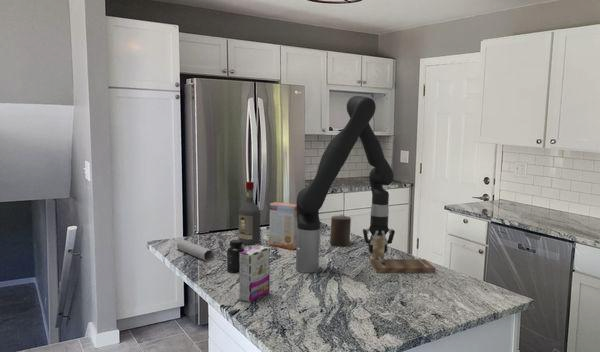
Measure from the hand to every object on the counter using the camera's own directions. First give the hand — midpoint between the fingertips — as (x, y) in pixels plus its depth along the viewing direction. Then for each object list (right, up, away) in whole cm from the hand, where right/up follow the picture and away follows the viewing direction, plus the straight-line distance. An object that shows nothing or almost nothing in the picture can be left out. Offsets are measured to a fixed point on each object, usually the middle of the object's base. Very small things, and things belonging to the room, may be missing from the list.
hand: (377, 252), depth 201 cm
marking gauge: (0, -5, -4) cm, 6 cm away
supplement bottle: (-59, -5, -15) cm, 62 cm away
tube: (-81, -2, +5) cm, 81 cm away
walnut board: (+9, -5, -6) cm, 12 cm away
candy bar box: (-49, -8, -42) cm, 65 cm away
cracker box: (-41, -1, +22) cm, 47 cm away
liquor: (-59, 0, +28) cm, 65 cm away
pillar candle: (-14, -1, +30) cm, 33 cm away
